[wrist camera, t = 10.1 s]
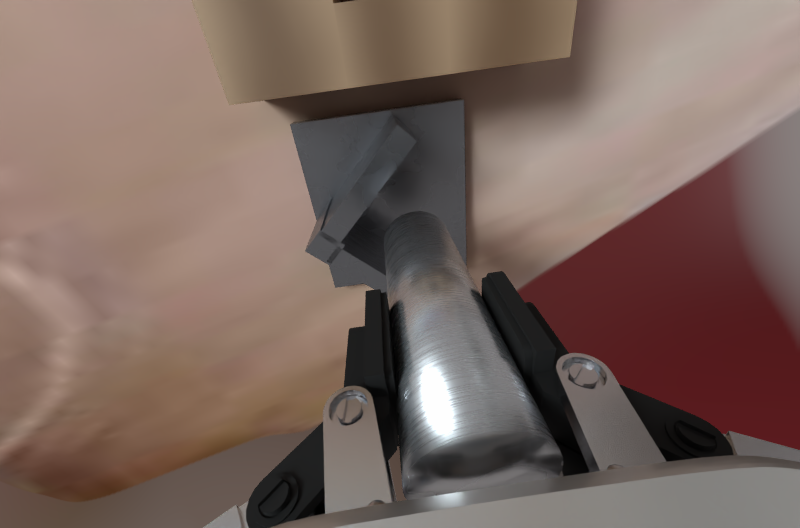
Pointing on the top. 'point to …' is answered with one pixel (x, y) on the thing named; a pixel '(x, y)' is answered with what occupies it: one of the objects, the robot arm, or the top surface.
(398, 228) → the axle
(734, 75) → the top surface
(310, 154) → the v block
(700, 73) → the top surface
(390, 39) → the wooden block with hole
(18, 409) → the top surface
